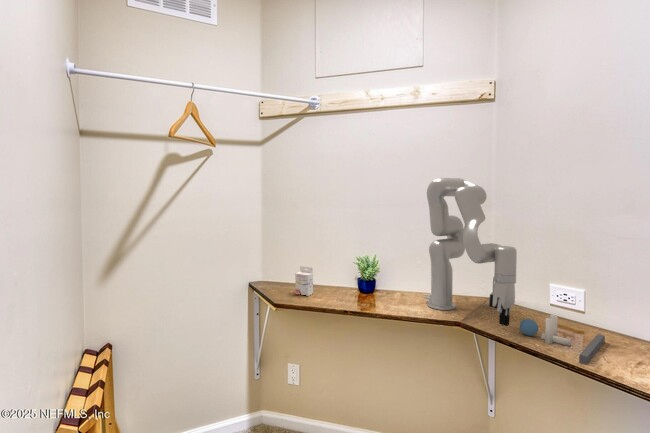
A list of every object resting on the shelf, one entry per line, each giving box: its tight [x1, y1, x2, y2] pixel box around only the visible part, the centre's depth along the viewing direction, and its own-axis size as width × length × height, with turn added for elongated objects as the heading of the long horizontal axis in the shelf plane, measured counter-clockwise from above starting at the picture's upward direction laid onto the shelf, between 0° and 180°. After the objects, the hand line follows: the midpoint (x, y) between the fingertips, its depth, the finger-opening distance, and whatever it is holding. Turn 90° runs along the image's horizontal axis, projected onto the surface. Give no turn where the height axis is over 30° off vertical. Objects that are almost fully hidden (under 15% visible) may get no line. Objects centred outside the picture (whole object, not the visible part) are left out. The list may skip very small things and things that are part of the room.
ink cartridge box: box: [294, 266, 314, 295], centre depth 186 cm, size 9×5×15 cm, turn 58°
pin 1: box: [544, 317, 554, 345], centre depth 122 cm, size 2×2×8 cm
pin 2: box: [549, 314, 559, 337], centre depth 126 cm, size 2×2×8 cm
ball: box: [519, 318, 539, 337], centre depth 129 cm, size 6×6×6 cm
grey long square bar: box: [578, 333, 606, 365], centre depth 115 cm, size 2×24×2 cm, turn 131°
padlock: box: [488, 276, 498, 309], centre depth 162 cm, size 7×4×15 cm, turn 53°
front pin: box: [540, 332, 572, 347], centre depth 123 cm, size 2×2×8 cm
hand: (504, 324), depth 136 cm, fingers closed
